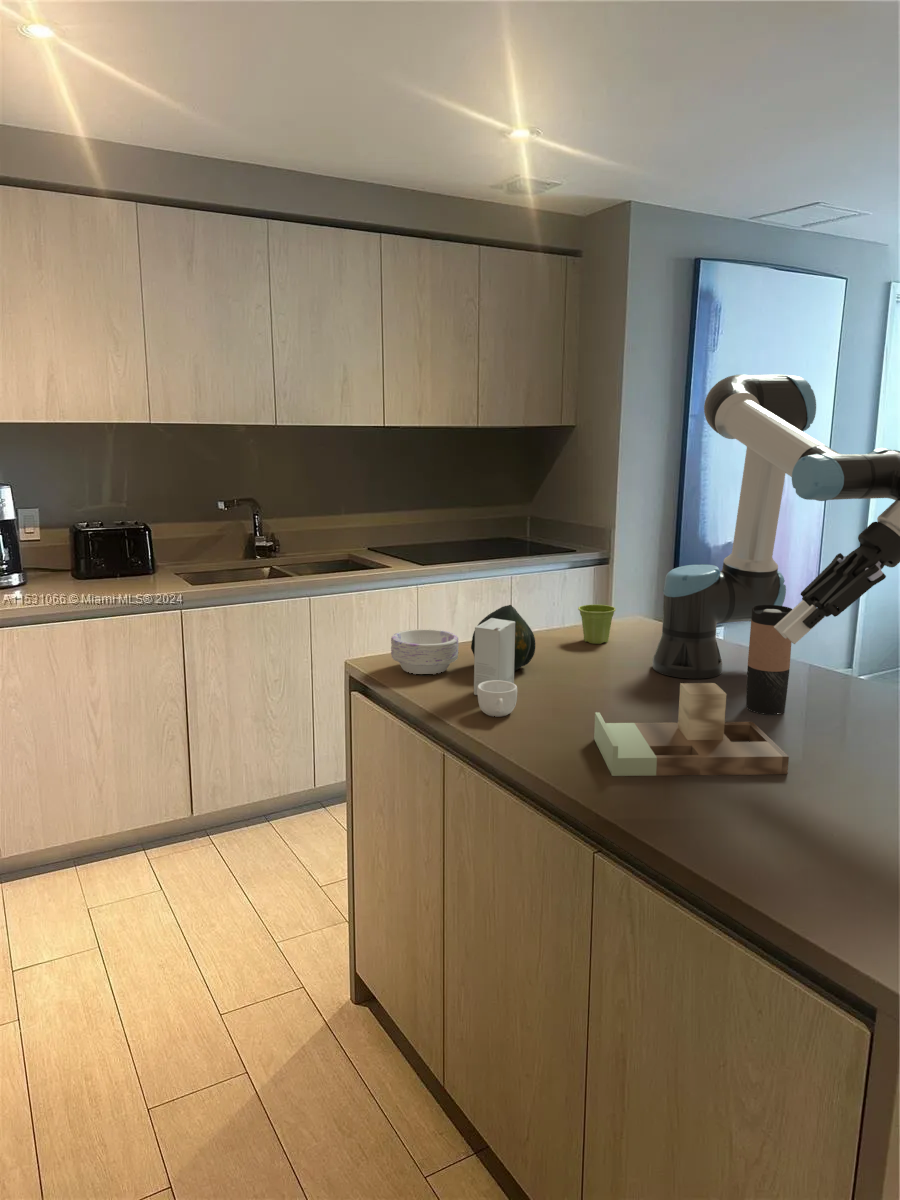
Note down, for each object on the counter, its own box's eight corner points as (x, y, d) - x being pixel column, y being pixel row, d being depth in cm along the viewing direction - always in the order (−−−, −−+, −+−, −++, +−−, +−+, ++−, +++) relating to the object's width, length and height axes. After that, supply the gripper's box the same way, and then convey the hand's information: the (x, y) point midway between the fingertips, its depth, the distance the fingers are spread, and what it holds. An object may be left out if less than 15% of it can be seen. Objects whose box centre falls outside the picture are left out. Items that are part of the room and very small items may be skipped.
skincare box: (489, 684, 184) (490, 617, 181) (515, 688, 181) (516, 620, 178) (472, 695, 176) (472, 625, 173) (499, 700, 174) (500, 628, 171)
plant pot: (576, 645, 216) (577, 611, 214) (577, 636, 225) (578, 603, 223) (614, 646, 214) (616, 612, 212) (614, 637, 223) (615, 604, 221)
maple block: (712, 727, 149) (714, 683, 148) (723, 739, 143) (726, 693, 142) (677, 727, 149) (680, 683, 147) (687, 740, 143) (690, 694, 142)
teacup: (475, 707, 170) (475, 680, 168) (513, 705, 170) (513, 679, 169) (480, 724, 160) (481, 696, 159) (521, 723, 160) (522, 695, 159)
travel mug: (787, 705, 169) (795, 606, 165) (784, 717, 163) (792, 614, 159) (747, 700, 173) (753, 603, 169) (742, 711, 166) (749, 610, 162)
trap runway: (751, 737, 152) (752, 721, 152) (787, 774, 137) (788, 756, 136) (633, 738, 152) (634, 722, 151) (656, 775, 136) (656, 757, 136)
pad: (633, 738, 152) (634, 712, 151) (656, 775, 136) (657, 745, 135) (594, 739, 152) (595, 712, 151) (612, 775, 136) (613, 746, 135)
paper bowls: (472, 669, 195) (472, 635, 193) (423, 683, 185) (423, 648, 183) (426, 656, 206) (425, 624, 204) (377, 670, 195) (376, 636, 193)
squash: (469, 655, 186) (512, 602, 186) (452, 641, 200) (493, 592, 201) (515, 694, 190) (558, 642, 190) (496, 677, 204) (536, 629, 205)
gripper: (935, 559, 132) (819, 664, 136) (882, 544, 148) (779, 638, 151) (904, 525, 131) (788, 631, 134) (854, 514, 147) (751, 609, 150)
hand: (784, 635), depth 143 cm, fingers open, 3 cm apart
